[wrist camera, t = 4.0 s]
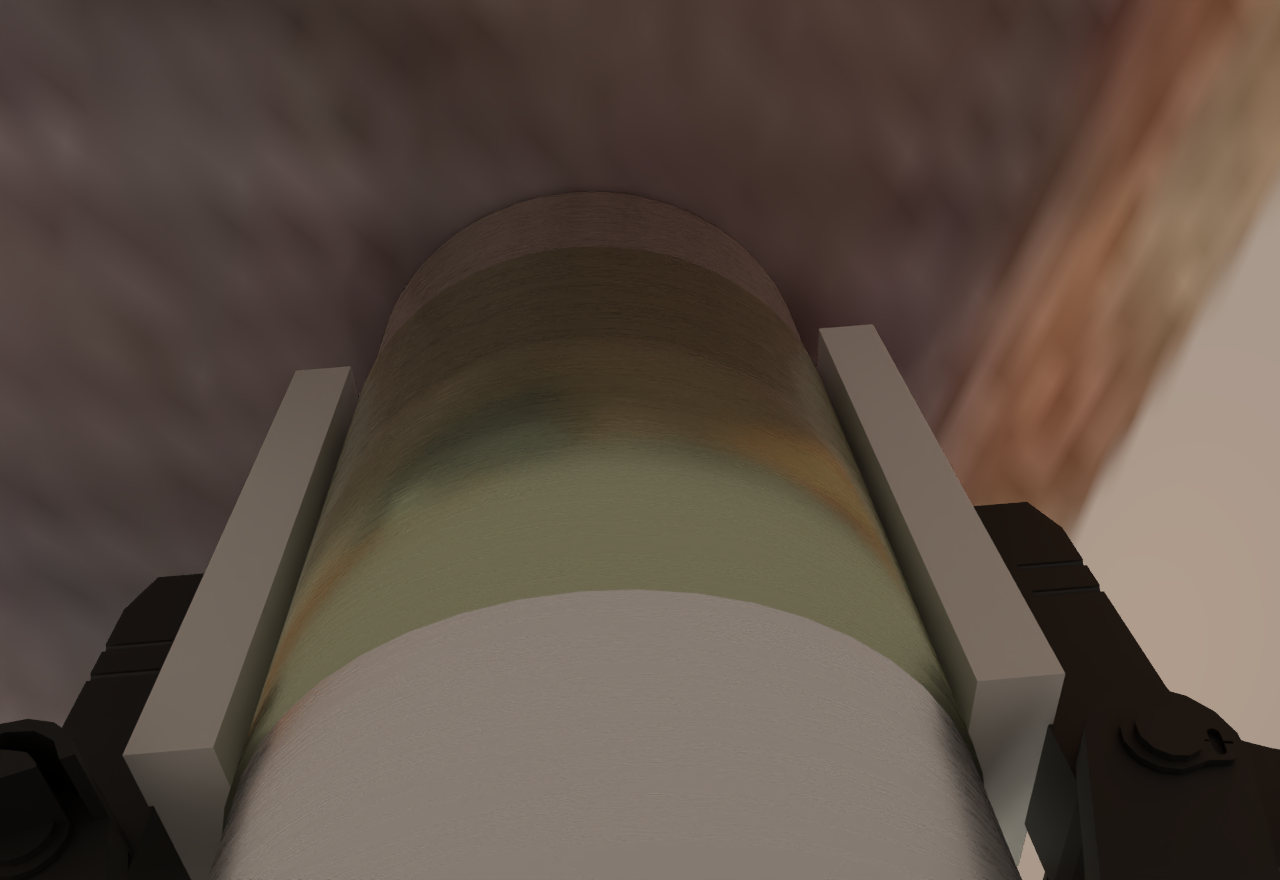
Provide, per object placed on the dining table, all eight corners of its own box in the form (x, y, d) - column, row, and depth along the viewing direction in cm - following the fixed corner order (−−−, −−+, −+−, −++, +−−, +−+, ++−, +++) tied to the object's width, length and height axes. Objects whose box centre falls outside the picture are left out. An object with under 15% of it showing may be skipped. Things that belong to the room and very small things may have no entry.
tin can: (799, 543, 17) (1013, 1258, 9) (417, 575, 17) (277, 1328, 9) (812, 170, 14) (1189, 786, 5) (331, 207, 14) (-40, 895, 5)
